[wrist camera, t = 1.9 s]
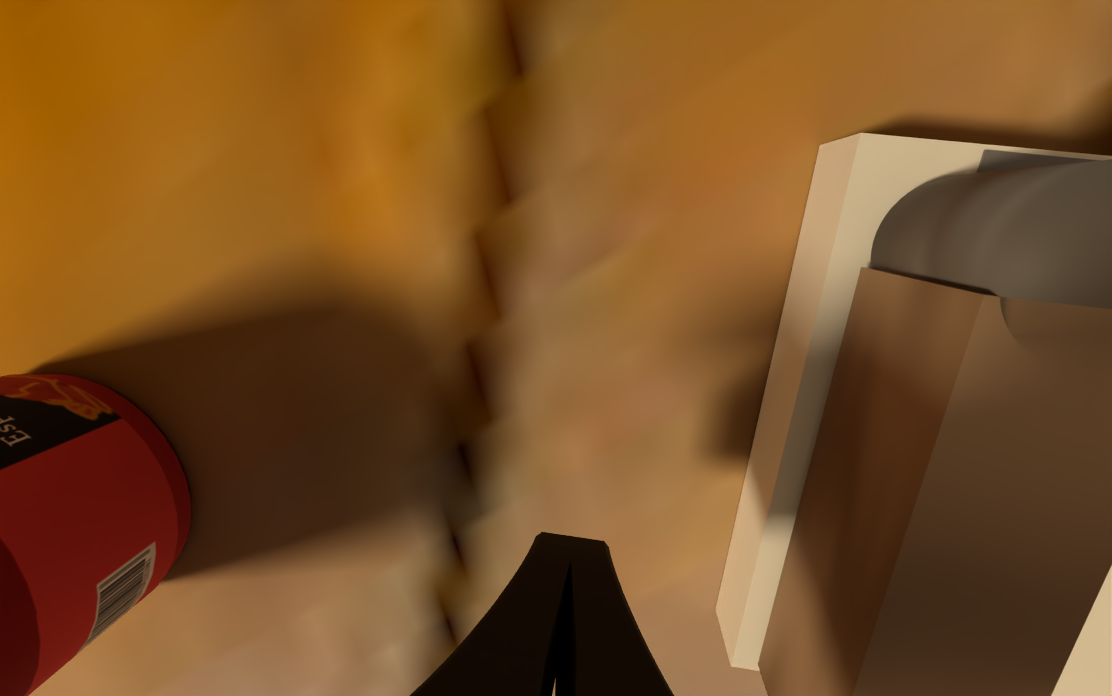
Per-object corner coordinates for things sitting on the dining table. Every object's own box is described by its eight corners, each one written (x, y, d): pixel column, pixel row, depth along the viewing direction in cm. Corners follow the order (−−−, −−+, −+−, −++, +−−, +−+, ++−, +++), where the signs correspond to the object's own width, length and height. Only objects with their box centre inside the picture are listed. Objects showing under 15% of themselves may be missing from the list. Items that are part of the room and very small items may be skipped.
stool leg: (887, 167, 10) (1032, 144, 6) (1054, 182, 10) (1294, 168, 6) (757, 664, 13) (810, 823, 10) (880, 683, 13) (978, 853, 9)
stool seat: (1171, 680, 14) (1260, 754, 13) (715, 609, 15) (731, 667, 13) (1428, 202, 11) (1607, 201, 9) (820, 145, 12) (862, 132, 10)
